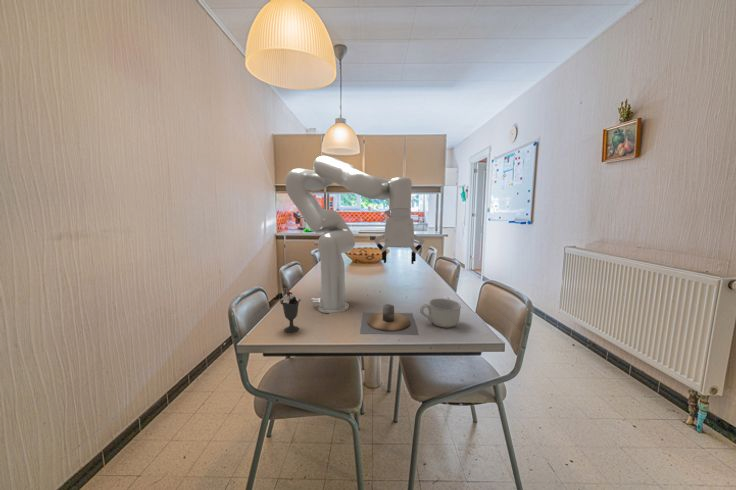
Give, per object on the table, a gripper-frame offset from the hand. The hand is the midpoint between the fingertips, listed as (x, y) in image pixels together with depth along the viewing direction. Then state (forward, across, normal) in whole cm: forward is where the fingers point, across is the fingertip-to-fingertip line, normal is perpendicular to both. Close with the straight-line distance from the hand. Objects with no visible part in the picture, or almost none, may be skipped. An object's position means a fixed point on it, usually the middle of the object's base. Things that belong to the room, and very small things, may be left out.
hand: (398, 262), depth 101 cm
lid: (+21, -3, -3) cm, 22 cm away
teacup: (+22, +15, -1) cm, 26 cm away
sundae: (+22, -35, -12) cm, 43 cm away
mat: (+22, -3, -3) cm, 22 cm away
